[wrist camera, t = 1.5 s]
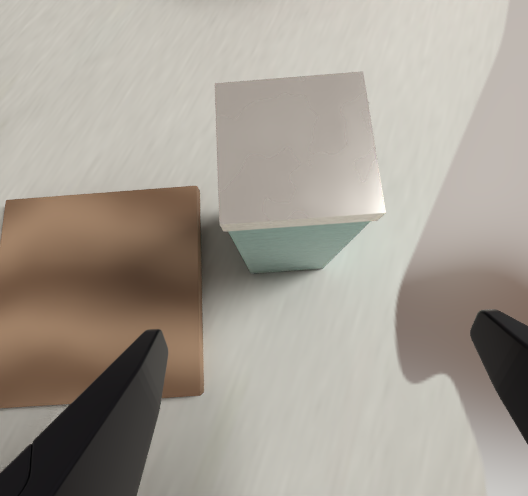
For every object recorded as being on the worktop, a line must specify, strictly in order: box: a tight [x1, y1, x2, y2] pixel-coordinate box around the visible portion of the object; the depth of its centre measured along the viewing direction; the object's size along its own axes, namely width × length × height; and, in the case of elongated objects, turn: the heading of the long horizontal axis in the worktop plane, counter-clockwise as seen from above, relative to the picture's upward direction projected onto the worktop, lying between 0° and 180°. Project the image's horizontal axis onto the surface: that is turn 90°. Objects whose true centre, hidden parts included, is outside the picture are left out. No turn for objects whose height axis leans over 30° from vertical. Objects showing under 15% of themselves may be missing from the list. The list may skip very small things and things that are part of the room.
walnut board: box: [0, 186, 204, 408], centre depth 21 cm, size 14×14×2 cm
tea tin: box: [215, 72, 386, 274], centre depth 16 cm, size 5×5×12 cm
